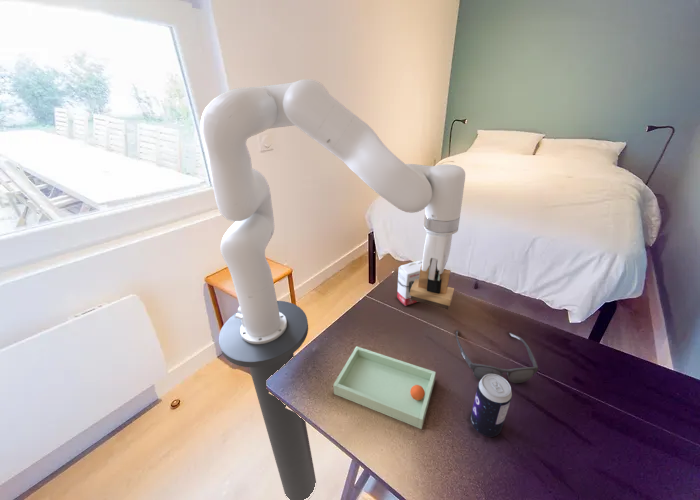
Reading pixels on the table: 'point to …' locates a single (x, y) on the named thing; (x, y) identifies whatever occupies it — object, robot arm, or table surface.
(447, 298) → the brush
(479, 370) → the sunglasses
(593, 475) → the table surface
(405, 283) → the ink box
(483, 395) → the beverage can
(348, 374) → the tray
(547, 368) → the table surface
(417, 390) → the crumb ball
